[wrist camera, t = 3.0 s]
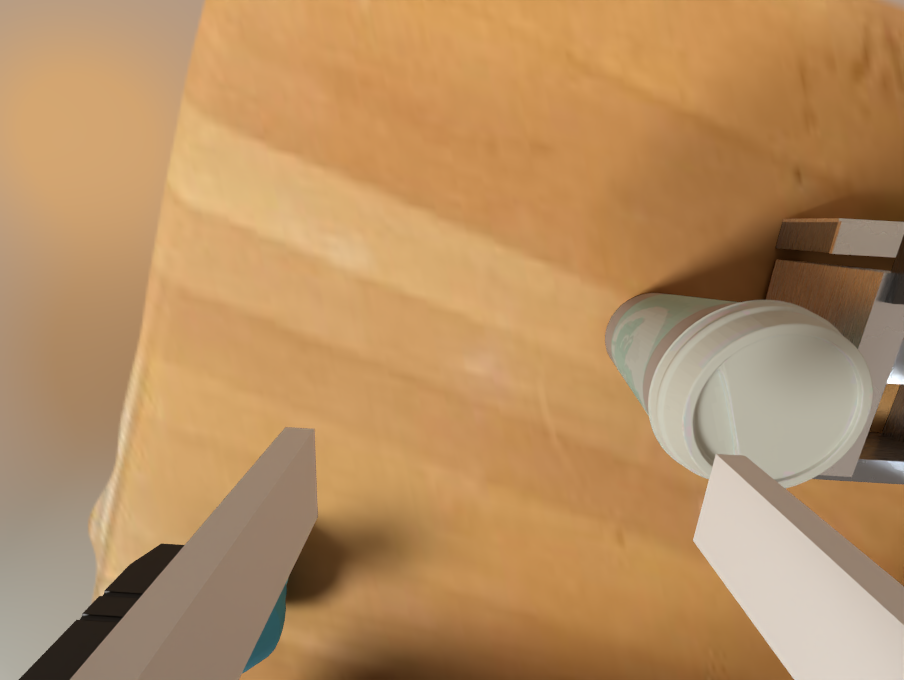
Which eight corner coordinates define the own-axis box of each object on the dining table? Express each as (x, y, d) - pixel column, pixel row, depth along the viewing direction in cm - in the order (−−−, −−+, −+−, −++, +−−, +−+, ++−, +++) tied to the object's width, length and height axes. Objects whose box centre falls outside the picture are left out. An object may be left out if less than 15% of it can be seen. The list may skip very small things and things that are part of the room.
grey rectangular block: (734, 416, 29) (821, 479, 22) (789, 210, 26) (916, 205, 18) (861, 424, 29) (989, 489, 22) (935, 218, 25) (1119, 217, 18)
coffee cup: (609, 257, 27) (720, 284, 15) (733, 289, 27) (932, 338, 16) (567, 377, 29) (638, 479, 18) (682, 405, 30) (824, 522, 18)
